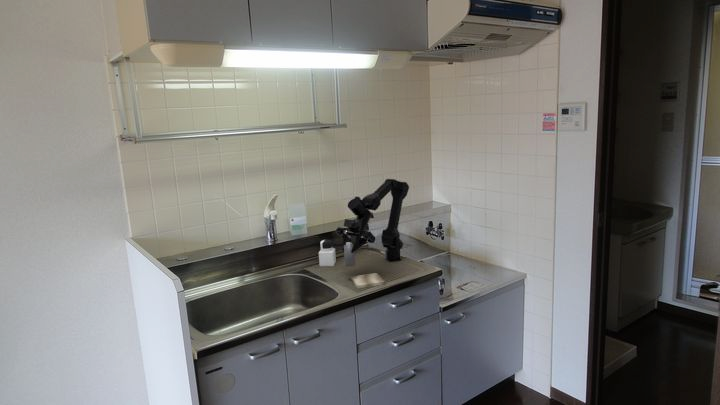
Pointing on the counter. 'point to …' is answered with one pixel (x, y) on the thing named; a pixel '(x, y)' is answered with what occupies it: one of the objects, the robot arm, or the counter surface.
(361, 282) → the birch board
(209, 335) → the counter surface
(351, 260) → the white-capped grey cylinder
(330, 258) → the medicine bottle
